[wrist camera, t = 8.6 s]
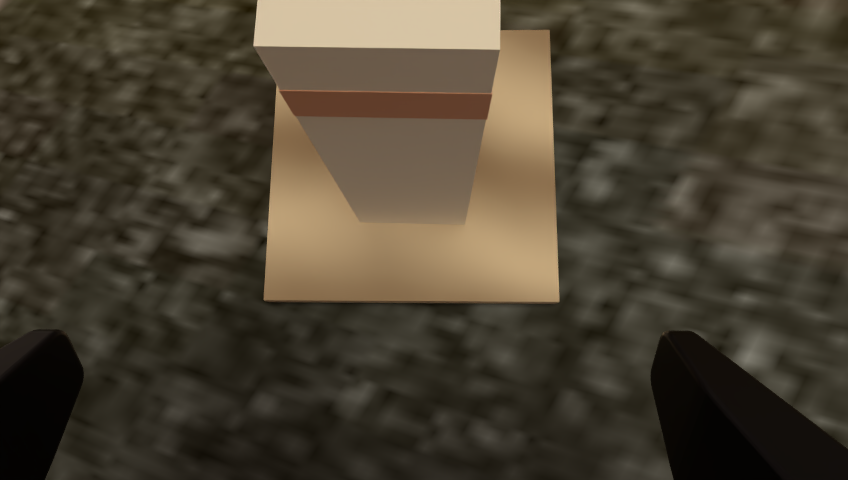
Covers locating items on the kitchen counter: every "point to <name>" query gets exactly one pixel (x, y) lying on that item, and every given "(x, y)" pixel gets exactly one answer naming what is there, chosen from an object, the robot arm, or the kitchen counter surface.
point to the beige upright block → (388, 96)
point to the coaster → (428, 243)
